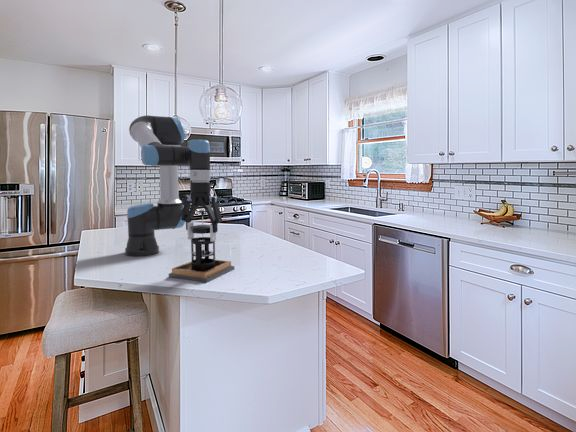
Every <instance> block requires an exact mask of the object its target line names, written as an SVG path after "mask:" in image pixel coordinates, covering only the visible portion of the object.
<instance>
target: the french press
mask: <svg viewBox="0 0 576 432" xmlns="http://www.w3.org/2000/svg"><path fill="white" fill-rule="evenodd" d="M196 213H200V216H201V224H197V225H193V226H191V228H192V233H194V234H200V235H201V234H202V237H200V236H198V237H194V238H193V239H190V243H191V246H190V247H191V261H192V268H191V270H194V271H202V272H205V271H207V270H210V269H212V268H214V267H215V260H216V241H213V242H210V236H204V234H210V224H204V216H205V213H207V212H206V210H198V211H197V210H196ZM211 244H212V249H213V251H211V250H210V245H211ZM194 245H195V246H194ZM194 248H195V252H194ZM212 256H213V258H210V257H212ZM194 257H195V259H194Z"/></svg>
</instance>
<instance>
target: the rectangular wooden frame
mask: <svg viewBox="0 0 576 432" xmlns="http://www.w3.org/2000/svg"><path fill="white" fill-rule="evenodd" d="M191 268H192V260H191V261H189V262H186V263H184V264H180V265H178V266H175V267H173V268H171V272H170V273H168V278H173V279H179V280H186V279H188V281H193V280H194V282H199V281H200V282H201V283H210V282H211V281H212V280H213V281H214V280H215V279H217V278H219V277H221V276H223V275H225V274H227V273H230V272H232V271H233V270H235V265H232V261H230V260H221V259H215V267H214V268H212V269H210V270H207V271H205V272H202V271H194V270H191Z"/></svg>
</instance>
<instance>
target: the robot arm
mask: <svg viewBox="0 0 576 432" xmlns="http://www.w3.org/2000/svg"><path fill="white" fill-rule="evenodd" d="M128 130H129V135H130V137H131V138H132V140H133V141H135V142H137V143H138V145H139V147H140V148H141V149H140V158H141V162H142V164H143V165H145V166H151V167H156V166H158V167H159V187H160V188H159V189H160V191H159V194H160V198H159V199H158V201H157V203H156V204H157V205H154V204H153V203H152V202H151V203H149V202H148V203H140V204H136V205H135V204H134V205H132V206H129V207H128V208H127V211H126V218H127V233H128V235H127V236H128V239H127V243H126V247H125V249H124V251H125V252H124V253H125V255H126V256H129V257H130V256H131V257H142V256H144V257H145V256H151V255H155V254H157V253H159V252H160V247H159V245H158V242H157V239H156V236H155V231H160V230H171V229H172V230H174V229H181V228H183V226H184V225H185V229H186V231H187V240H190V241H191V239H193V238H195V235H194V234H195V233H192V228H191V226H194V221H193V218H194V216H195V214H196V213H197V209H198V208H199V207H203V210H204V209H205V210H204V211H206V212H205V213H206V214H207V216H208V218H209V221H210V222H211V223H210V224H209V225H210V233H209V237H210V242H213V241H215V242H216V241H217V233H218V224H219V223H222V222H223V219H222V214H221V210H220V207H219V198H218V196H212V195H211V192H212V191H211V190H212V188H211V186H212V185H211V182H210V181H211V179H212V178H211V148H210V147H211V146H210V142H209V140H206V139H190V140H189V142H188V146H182V143H184V141H185V136H186V135H185V128H184V125H183V122H182V121H181V119H179V118H177V117H172V116H158V115H157V116H156V115H143V116H142V115H141V116H139V117H136V118H135V119H134V120H132V122H131V123H130V125H129V129H128ZM181 166H182V167H189V180H190V183H189V189H190V190H189V192H191V193H190V194H189V195H188V194H187V195H184V196H183V199H184V203H183V202H182V200H181V199H180V196H179V193H180V192H179V167H181Z"/></svg>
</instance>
